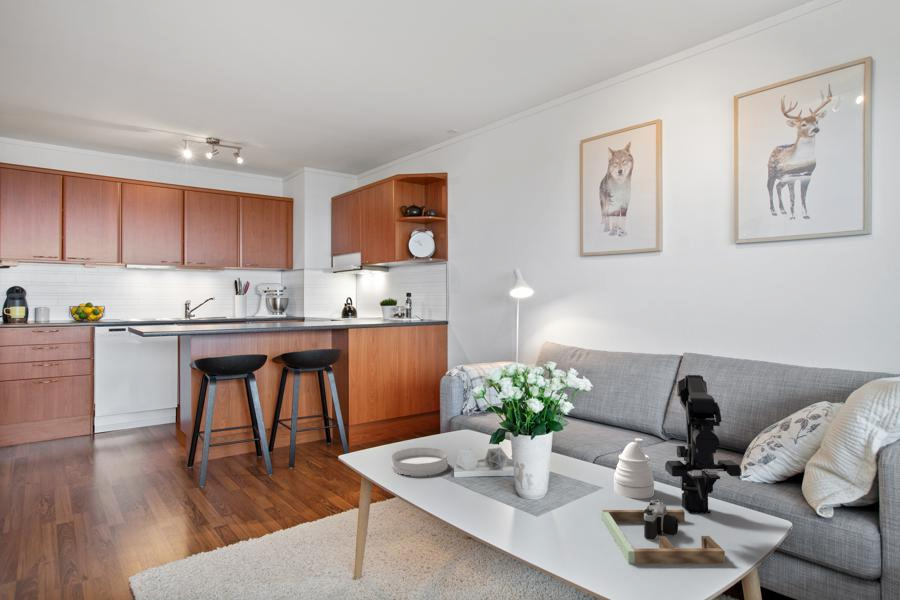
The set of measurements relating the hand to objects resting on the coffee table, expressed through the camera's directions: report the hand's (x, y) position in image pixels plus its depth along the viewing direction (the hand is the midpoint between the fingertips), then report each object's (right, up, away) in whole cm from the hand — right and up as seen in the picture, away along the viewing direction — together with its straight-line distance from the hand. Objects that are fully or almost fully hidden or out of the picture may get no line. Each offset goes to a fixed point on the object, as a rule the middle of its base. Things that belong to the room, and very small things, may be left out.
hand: (703, 499), depth 150 cm
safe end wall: (-25, -10, -3) cm, 27 cm away
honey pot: (-8, -10, +33) cm, 35 cm away
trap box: (-14, -10, -3) cm, 17 cm away
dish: (-82, -11, +63) cm, 104 cm away
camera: (-11, -10, +1) cm, 15 cm away
